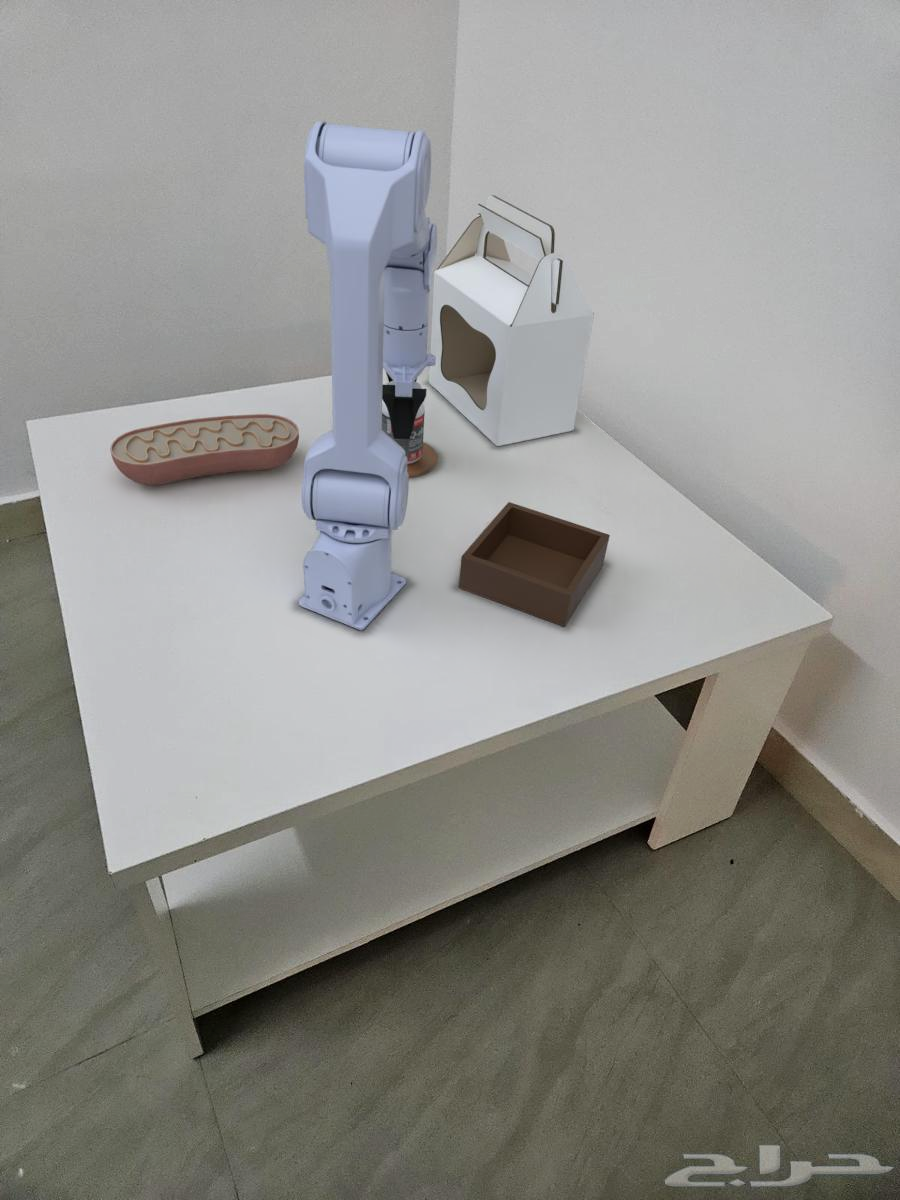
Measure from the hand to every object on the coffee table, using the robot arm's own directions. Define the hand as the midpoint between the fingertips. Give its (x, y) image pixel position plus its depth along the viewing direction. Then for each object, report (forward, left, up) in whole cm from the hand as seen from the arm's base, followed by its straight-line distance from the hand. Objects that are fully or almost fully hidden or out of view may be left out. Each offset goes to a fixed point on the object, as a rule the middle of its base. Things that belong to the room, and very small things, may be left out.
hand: (401, 423), depth 107 cm
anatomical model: (-16, +19, -6) cm, 25 cm away
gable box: (+22, -5, -6) cm, 23 cm away
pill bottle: (0, 0, -5) cm, 5 cm away
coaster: (0, 0, -5) cm, 5 cm away
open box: (-14, -25, -5) cm, 30 cm away
